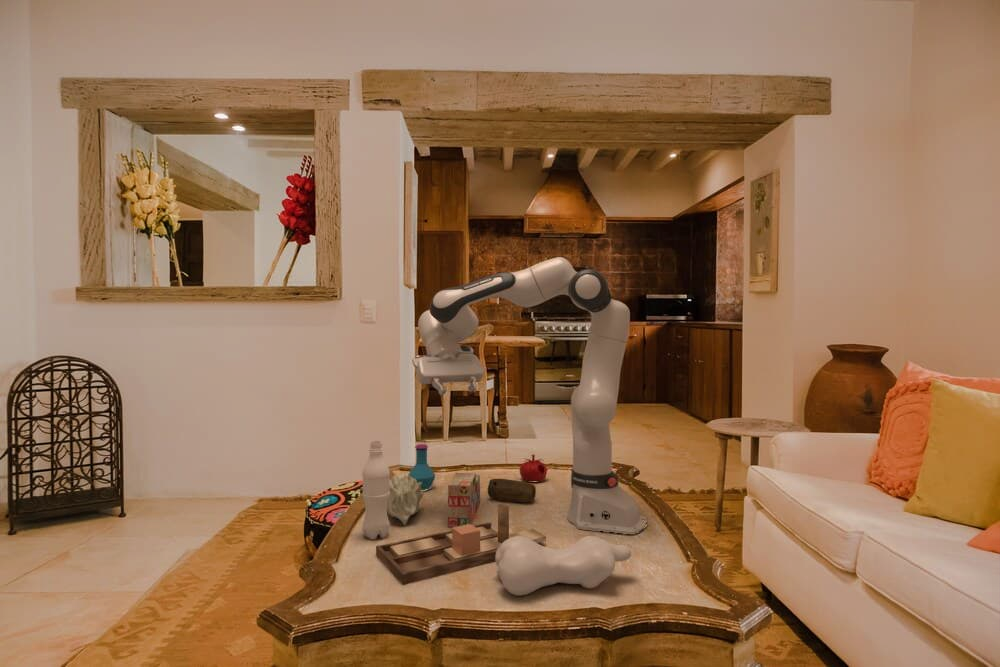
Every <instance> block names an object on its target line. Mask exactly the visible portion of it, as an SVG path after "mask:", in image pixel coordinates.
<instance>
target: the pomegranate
mask: <svg viewBox="0 0 1000 667" xmlns="http://www.w3.org/2000/svg"><path fill="white" fill-rule="evenodd" d="M531 457H532V458H531V459H529V458H526V459H525V461H524V462H523V463H522V464H521V465H520V466H519V474H520V477H521V478H522V479H523V480H524V481H525V480H526V481H525V482H527V481H541V480H543V481H545V479H546V476H547V473H548V469H547V466H546V465H545V463H544V459H541V458H540V459H536V460H535V457H536V455H535V454H531ZM542 461H543V462H542ZM541 482H542V481H541Z"/></svg>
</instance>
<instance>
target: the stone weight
mask: <svg viewBox="0 0 1000 667" xmlns="http://www.w3.org/2000/svg"><path fill="white" fill-rule="evenodd" d="M536 488H537V487H536V485H534V484H533V483H532V482H527V481H520V480H515V479H508V478H507V479H506V478H491V479H490V480H489V483H488V486H487V494H488V497H489V498H492V499H495V500H498V501H505V502H513V503H532V502H533V501H534V499H535V498H536V494H537V489H536Z"/></svg>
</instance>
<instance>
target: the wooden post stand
mask: <svg viewBox="0 0 1000 667" xmlns="http://www.w3.org/2000/svg"><path fill="white" fill-rule="evenodd" d="M497 532H498V537H495V538H491V539H486V540H482V541H480V551H479V552H475V553H471V554H467V555H463V556H461V555H460V554H459V553H457V552H456V551H455V550H454V549H452V548H447V549H444V555H445V556H446V557H447V558H449V559H450V560H451V561H452V560H456V559H461V558H465V557H469V556H473V555H477V554H481V553H485V552H489V551H493V550H497V549H498V548H499V547H500V545H501V544H502V543H503V542H504V541H505V540H507V539H509V538H511V537H515V536H522V537H525V538H528V539H530V540H532V541H534V542H536V543H538V544H539V543H543V542H547V535H544V534H543V533H542V532H540V531H538V530H536V529H534V528H531V529H526V530H522V531H518V532H513V533H510V504H509V503H505V502H504V503H503V502H501V503H498V504H497Z"/></svg>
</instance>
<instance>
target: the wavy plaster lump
mask: <svg viewBox="0 0 1000 667" xmlns="http://www.w3.org/2000/svg"><path fill="white" fill-rule="evenodd" d="M421 485H422V482H419V483H417V481H416V479H414V478H412V477H410V476H408V475H405V474H404V476H403V477H400V476H398V475H396V474H395V475H393V476H392V478H391V479H390V478H389V491H390V497H389V500H388V504H387V514H388V515H389V516H391V517H393V518H397V519H398V520H399V521H400V522H401V523H402V524H403V526H407V524H408V521H409V519H410V516H413V515H414V514H415V513H418V512H419V509H420V508H419V507H420V501H421V499H422V497H423V496H424V491H423V492H422V491H421Z"/></svg>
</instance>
